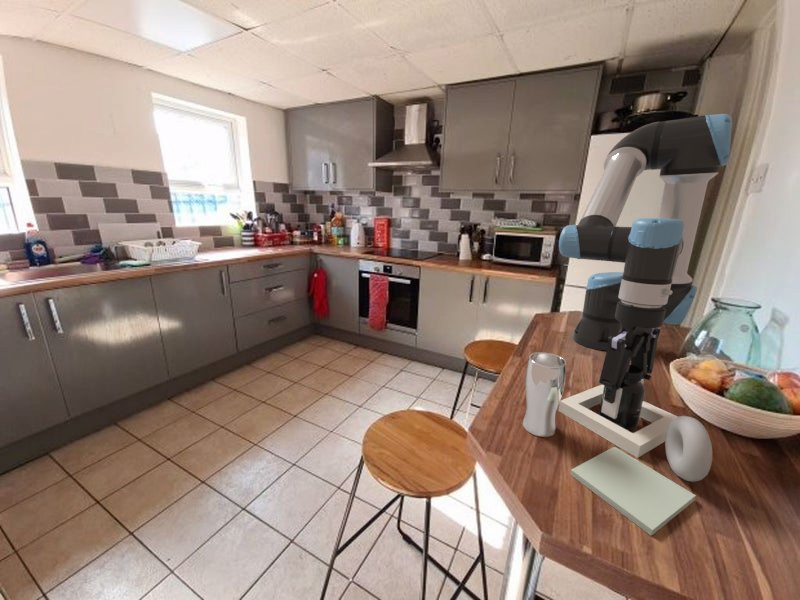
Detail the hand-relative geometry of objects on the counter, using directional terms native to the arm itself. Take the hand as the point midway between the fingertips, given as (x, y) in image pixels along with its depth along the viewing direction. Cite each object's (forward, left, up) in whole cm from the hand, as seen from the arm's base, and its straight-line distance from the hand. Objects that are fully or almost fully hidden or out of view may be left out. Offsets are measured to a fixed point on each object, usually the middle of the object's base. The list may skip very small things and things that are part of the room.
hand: (619, 409), depth 68 cm
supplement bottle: (0, 0, -3) cm, 3 cm away
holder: (0, 0, -3) cm, 3 cm away
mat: (+16, +11, -3) cm, 20 cm away
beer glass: (+17, -6, -3) cm, 18 cm away
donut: (+5, +13, -3) cm, 15 cm away
